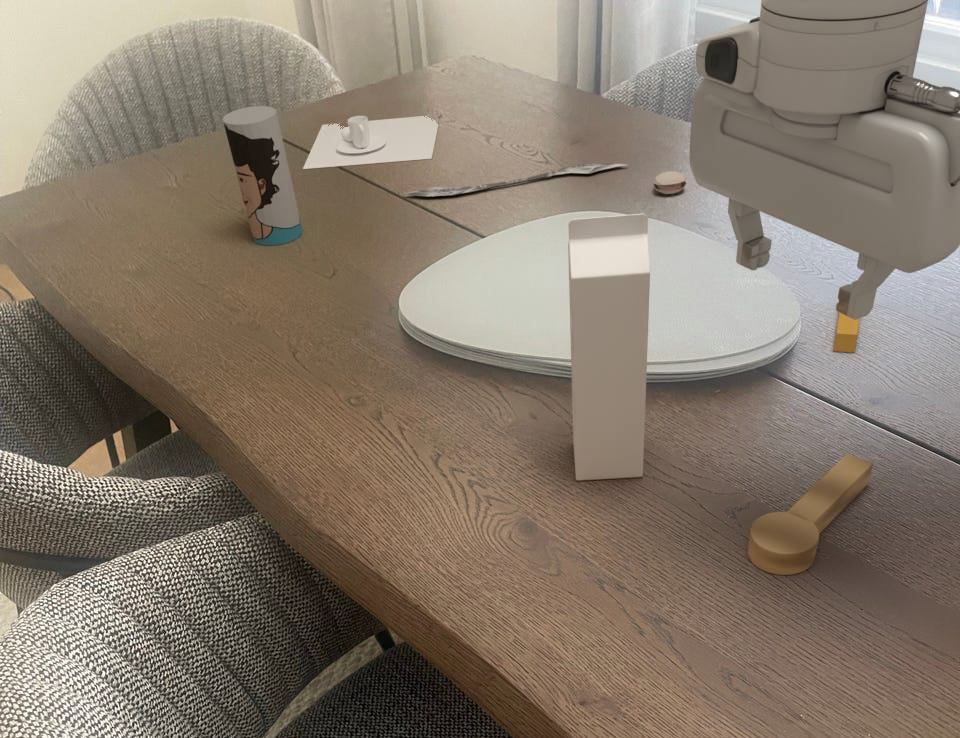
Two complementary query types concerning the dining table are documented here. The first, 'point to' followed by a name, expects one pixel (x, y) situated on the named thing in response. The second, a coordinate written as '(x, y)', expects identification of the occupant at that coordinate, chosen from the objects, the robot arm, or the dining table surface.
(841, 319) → the fry
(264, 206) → the white tall cylinder
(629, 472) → the milk
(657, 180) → the macaroon
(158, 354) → the dining table surface
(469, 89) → the dining table surface
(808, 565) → the spoon
